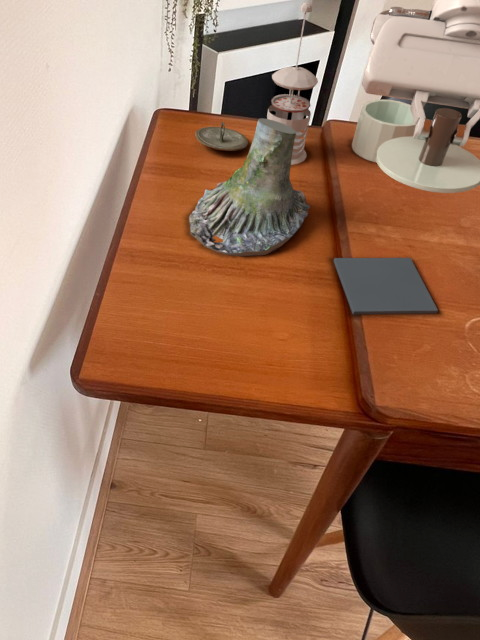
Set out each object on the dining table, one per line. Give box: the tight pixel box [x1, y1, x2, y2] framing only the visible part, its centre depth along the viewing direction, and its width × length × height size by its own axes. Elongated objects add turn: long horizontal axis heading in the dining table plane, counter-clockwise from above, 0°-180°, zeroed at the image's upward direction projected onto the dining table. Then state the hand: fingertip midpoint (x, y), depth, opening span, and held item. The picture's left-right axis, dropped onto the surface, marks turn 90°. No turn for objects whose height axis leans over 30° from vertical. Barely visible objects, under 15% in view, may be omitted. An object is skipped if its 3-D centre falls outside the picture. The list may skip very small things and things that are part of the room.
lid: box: [194, 121, 249, 152], centre depth 102 cm, size 11×10×5 cm
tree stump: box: [188, 117, 312, 257], centre depth 83 cm, size 18×20×18 cm
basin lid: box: [375, 107, 480, 194], centre depth 61 cm, size 13×13×7 cm
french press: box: [266, 1, 319, 166], centre depth 94 cm, size 10×12×25 cm
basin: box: [351, 99, 416, 163], centre depth 103 cm, size 12×12×8 cm
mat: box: [333, 257, 439, 315], centre depth 77 cm, size 12×12×1 cm
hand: (439, 140), depth 60 cm, fingers closed on basin lid, 3 cm apart
